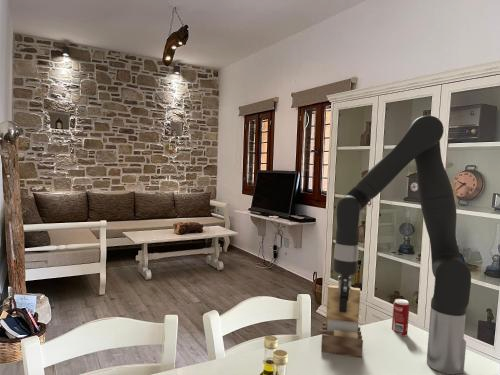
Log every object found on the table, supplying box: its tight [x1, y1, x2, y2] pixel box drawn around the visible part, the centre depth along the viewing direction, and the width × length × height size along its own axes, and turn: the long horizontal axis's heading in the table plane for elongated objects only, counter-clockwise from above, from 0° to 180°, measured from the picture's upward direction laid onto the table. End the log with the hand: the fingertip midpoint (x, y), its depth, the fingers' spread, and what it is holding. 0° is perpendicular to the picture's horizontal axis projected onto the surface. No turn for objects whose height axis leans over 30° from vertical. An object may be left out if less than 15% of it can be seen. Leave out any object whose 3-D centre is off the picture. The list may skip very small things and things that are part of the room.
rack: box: [320, 321, 364, 359], centre depth 118 cm, size 12×11×6 cm
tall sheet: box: [325, 284, 361, 331], centre depth 121 cm, size 10×2×18 cm, turn 78°
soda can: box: [391, 298, 410, 338], centre depth 133 cm, size 5×5×12 cm
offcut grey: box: [327, 319, 357, 333], centre depth 118 cm, size 9×2×8 cm, turn 78°
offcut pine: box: [334, 330, 358, 339], centre depth 115 cm, size 7×2×6 cm, turn 78°
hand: (342, 310), depth 121 cm, fingers closed on tall sheet, 2 cm apart
